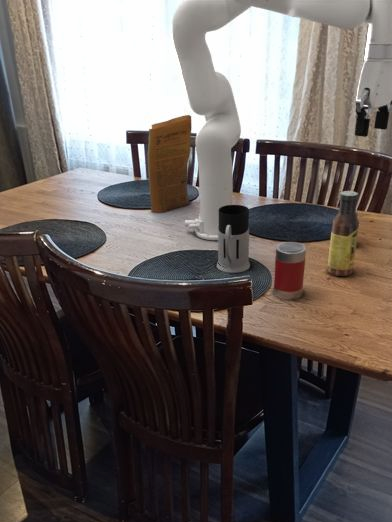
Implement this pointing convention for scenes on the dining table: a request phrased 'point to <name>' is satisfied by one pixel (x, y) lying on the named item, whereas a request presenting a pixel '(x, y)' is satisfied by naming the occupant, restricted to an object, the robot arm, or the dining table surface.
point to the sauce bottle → (344, 236)
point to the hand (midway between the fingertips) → (370, 132)
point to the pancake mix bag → (169, 163)
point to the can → (289, 270)
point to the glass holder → (233, 238)
